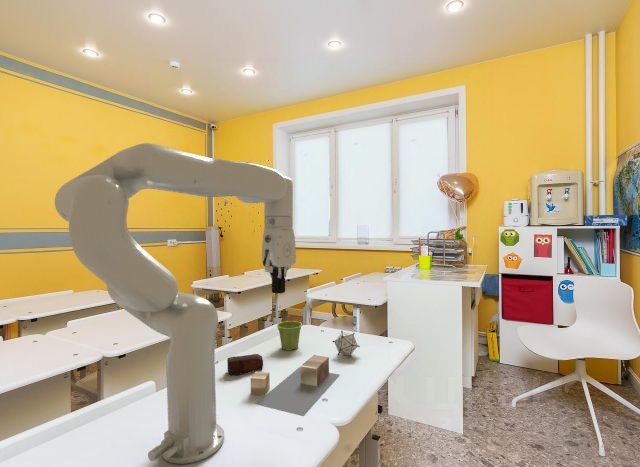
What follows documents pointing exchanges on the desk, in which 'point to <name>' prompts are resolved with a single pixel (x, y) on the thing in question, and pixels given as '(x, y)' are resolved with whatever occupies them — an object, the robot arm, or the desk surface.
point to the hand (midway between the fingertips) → (278, 292)
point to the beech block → (260, 383)
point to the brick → (244, 364)
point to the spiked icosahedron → (346, 343)
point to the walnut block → (314, 370)
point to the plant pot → (289, 334)
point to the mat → (296, 394)
